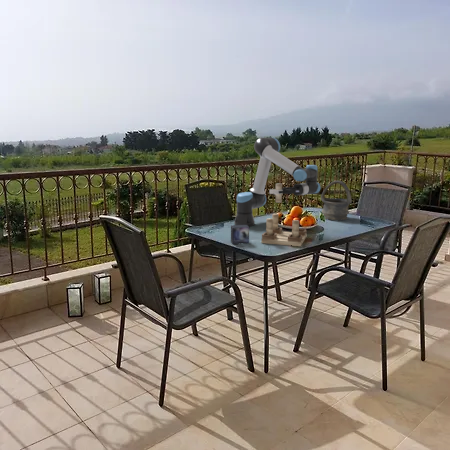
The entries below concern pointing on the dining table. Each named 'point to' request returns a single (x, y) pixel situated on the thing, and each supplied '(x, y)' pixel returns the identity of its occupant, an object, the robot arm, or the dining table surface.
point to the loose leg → (278, 196)
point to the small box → (239, 234)
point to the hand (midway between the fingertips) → (272, 192)
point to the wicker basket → (336, 204)
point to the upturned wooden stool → (283, 233)
